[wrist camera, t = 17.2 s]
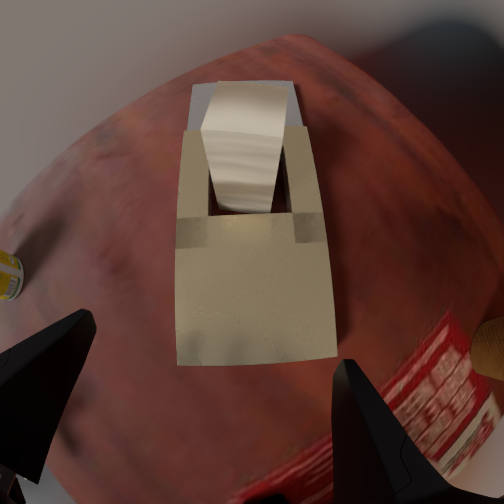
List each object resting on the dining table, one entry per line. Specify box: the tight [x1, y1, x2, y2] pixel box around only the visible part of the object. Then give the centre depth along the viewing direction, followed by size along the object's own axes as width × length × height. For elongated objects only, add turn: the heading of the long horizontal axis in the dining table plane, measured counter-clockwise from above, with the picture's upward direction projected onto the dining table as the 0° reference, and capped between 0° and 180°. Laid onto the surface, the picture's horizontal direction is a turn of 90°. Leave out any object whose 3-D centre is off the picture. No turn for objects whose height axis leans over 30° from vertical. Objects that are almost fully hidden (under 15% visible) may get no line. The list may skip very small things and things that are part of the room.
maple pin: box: [200, 81, 289, 214], centre depth 20 cm, size 5×5×11 cm
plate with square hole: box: [175, 81, 337, 366], centre depth 24 cm, size 30×12×2 cm, turn 3°
